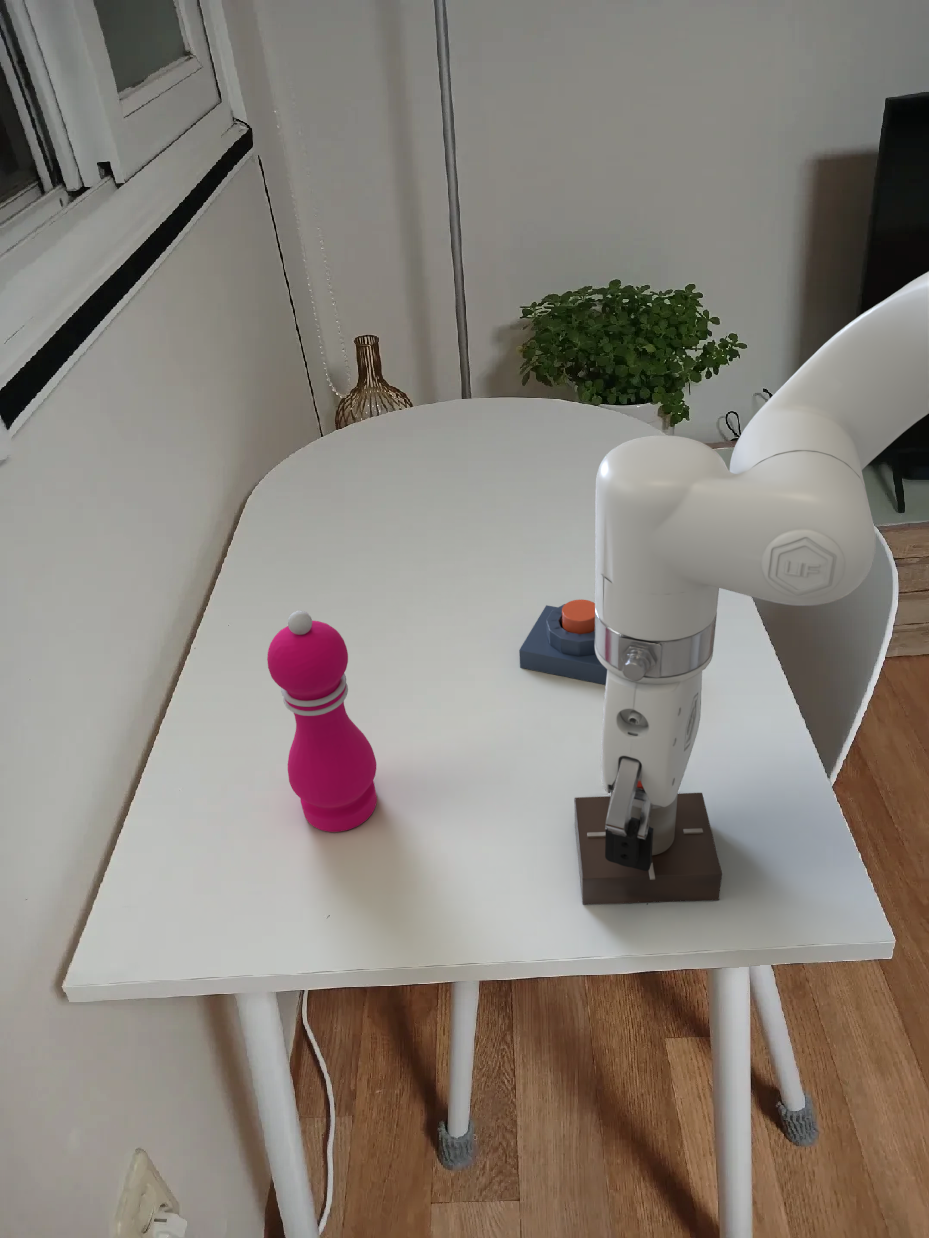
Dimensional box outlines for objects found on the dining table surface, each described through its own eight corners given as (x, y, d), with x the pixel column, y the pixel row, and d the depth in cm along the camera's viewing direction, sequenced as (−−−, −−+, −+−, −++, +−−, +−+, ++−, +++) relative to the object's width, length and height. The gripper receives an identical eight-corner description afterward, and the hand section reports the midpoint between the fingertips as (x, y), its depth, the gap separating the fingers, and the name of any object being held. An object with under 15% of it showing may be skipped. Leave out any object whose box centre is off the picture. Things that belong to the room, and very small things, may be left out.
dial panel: (698, 815, 77) (701, 787, 75) (720, 903, 70) (723, 875, 68) (574, 820, 77) (573, 792, 75) (582, 908, 70) (582, 880, 68)
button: (603, 617, 94) (603, 602, 93) (593, 638, 91) (593, 623, 90) (568, 610, 95) (568, 596, 94) (557, 631, 92) (556, 617, 91)
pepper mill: (303, 847, 77) (252, 652, 66) (293, 786, 83) (244, 597, 71) (390, 824, 78) (355, 629, 67) (374, 766, 84) (339, 577, 73)
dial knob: (669, 810, 73) (673, 760, 70) (678, 855, 70) (682, 804, 67) (612, 812, 74) (613, 762, 71) (618, 857, 70) (619, 807, 67)
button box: (640, 639, 96) (641, 606, 94) (618, 687, 90) (619, 654, 88) (546, 622, 100) (545, 590, 97) (519, 667, 94) (518, 635, 92)
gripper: (682, 730, 53) (666, 924, 63) (739, 567, 66) (718, 751, 76) (553, 702, 56) (558, 893, 66) (632, 551, 68) (626, 730, 78)
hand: (644, 816), depth 71 cm, fingers open, 8 cm apart
